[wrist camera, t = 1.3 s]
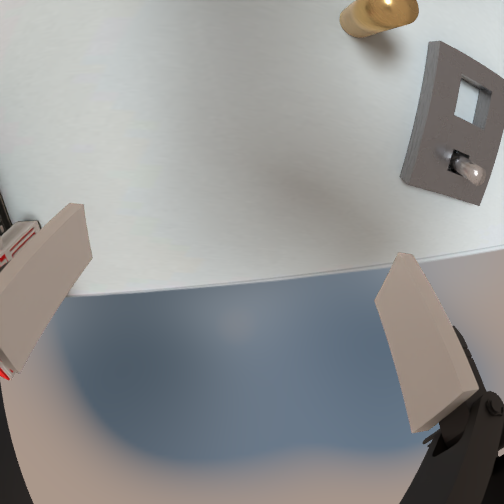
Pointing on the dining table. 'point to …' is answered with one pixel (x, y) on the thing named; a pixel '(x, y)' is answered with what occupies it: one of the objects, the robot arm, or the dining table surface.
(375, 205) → the dining table surface
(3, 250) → the toy
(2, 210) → the box
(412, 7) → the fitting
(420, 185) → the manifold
